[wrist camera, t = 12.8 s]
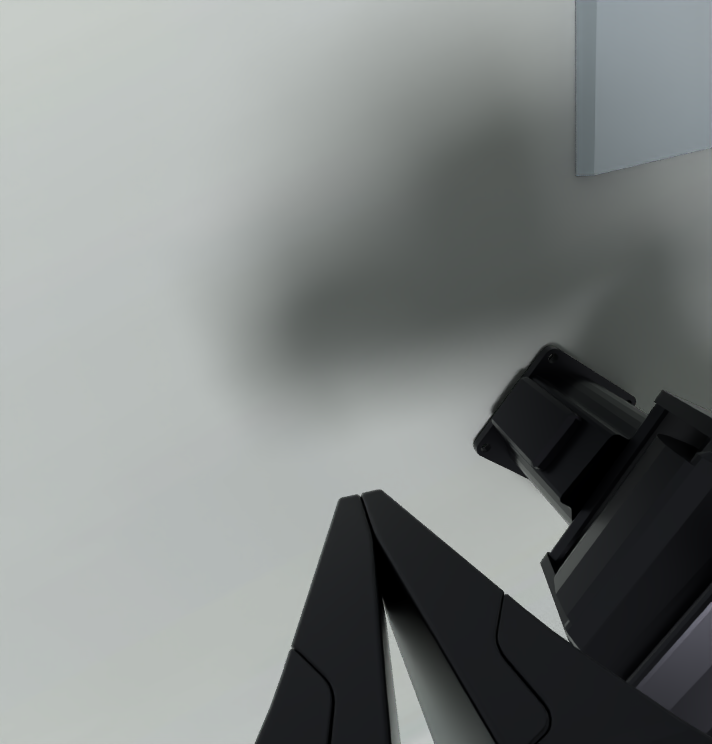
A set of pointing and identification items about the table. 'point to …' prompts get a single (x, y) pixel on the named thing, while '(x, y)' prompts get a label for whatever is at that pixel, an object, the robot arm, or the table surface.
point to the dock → (641, 82)
